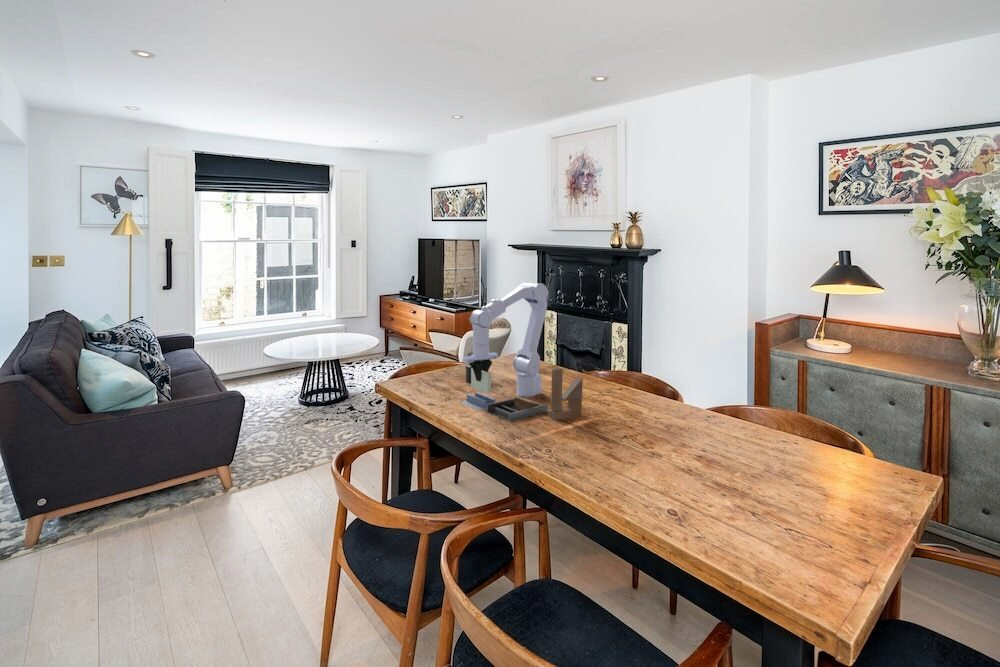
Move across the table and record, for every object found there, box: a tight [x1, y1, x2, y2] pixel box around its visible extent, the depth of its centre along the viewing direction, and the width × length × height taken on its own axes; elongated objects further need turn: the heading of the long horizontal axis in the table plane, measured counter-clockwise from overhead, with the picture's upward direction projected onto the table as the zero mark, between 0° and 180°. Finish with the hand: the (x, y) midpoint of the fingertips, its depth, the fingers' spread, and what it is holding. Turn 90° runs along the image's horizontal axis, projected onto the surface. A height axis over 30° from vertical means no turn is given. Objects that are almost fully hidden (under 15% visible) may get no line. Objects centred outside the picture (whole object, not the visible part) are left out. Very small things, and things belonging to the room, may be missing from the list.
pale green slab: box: [470, 368, 492, 394], centre depth 192 cm, size 2×10×7 cm, turn 39°
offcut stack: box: [514, 396, 540, 410], centre depth 187 cm, size 4×8×4 cm, turn 39°
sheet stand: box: [459, 391, 496, 411], centre depth 194 cm, size 10×12×4 cm
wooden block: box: [548, 367, 584, 421], centre depth 179 cm, size 4×11×18 cm, turn 112°
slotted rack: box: [485, 396, 549, 423], centre depth 185 cm, size 17×13×4 cm
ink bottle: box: [465, 351, 473, 384], centre depth 227 cm, size 10×9×12 cm
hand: (480, 380), depth 192 cm, fingers closed on pale green slab, 2 cm apart
